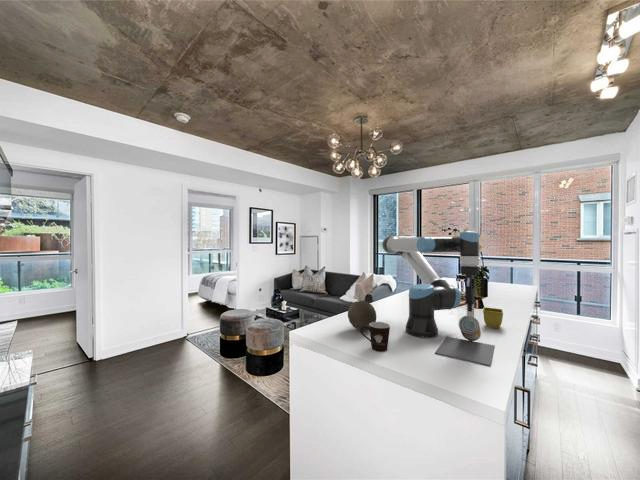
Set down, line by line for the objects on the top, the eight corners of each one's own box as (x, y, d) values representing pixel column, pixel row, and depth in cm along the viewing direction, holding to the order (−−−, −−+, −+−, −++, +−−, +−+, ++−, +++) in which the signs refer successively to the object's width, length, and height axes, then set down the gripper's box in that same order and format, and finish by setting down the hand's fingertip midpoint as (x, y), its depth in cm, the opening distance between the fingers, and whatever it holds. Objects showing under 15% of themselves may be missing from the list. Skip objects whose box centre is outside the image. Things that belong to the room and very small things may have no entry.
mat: (434, 353, 108) (434, 352, 108) (446, 337, 127) (446, 336, 127) (490, 366, 97) (490, 365, 97) (494, 346, 116) (494, 345, 116)
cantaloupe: (353, 325, 146) (353, 297, 146) (379, 328, 140) (379, 299, 140) (343, 333, 133) (343, 302, 133) (372, 337, 127) (372, 305, 127)
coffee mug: (394, 348, 114) (393, 324, 114) (383, 354, 107) (382, 329, 108) (370, 341, 122) (370, 319, 122) (359, 346, 116) (359, 323, 116)
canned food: (476, 322, 125) (475, 313, 117) (483, 339, 121) (482, 332, 112) (458, 325, 128) (455, 317, 120) (465, 342, 123) (462, 335, 115)
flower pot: (502, 325, 145) (502, 309, 145) (503, 330, 137) (503, 312, 137) (483, 323, 149) (483, 307, 149) (483, 327, 142) (482, 310, 142)
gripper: (477, 266, 115) (478, 322, 114) (480, 265, 126) (481, 316, 125) (457, 266, 119) (458, 320, 118) (462, 264, 130) (463, 314, 129)
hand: (470, 318), depth 122 cm, fingers closed
